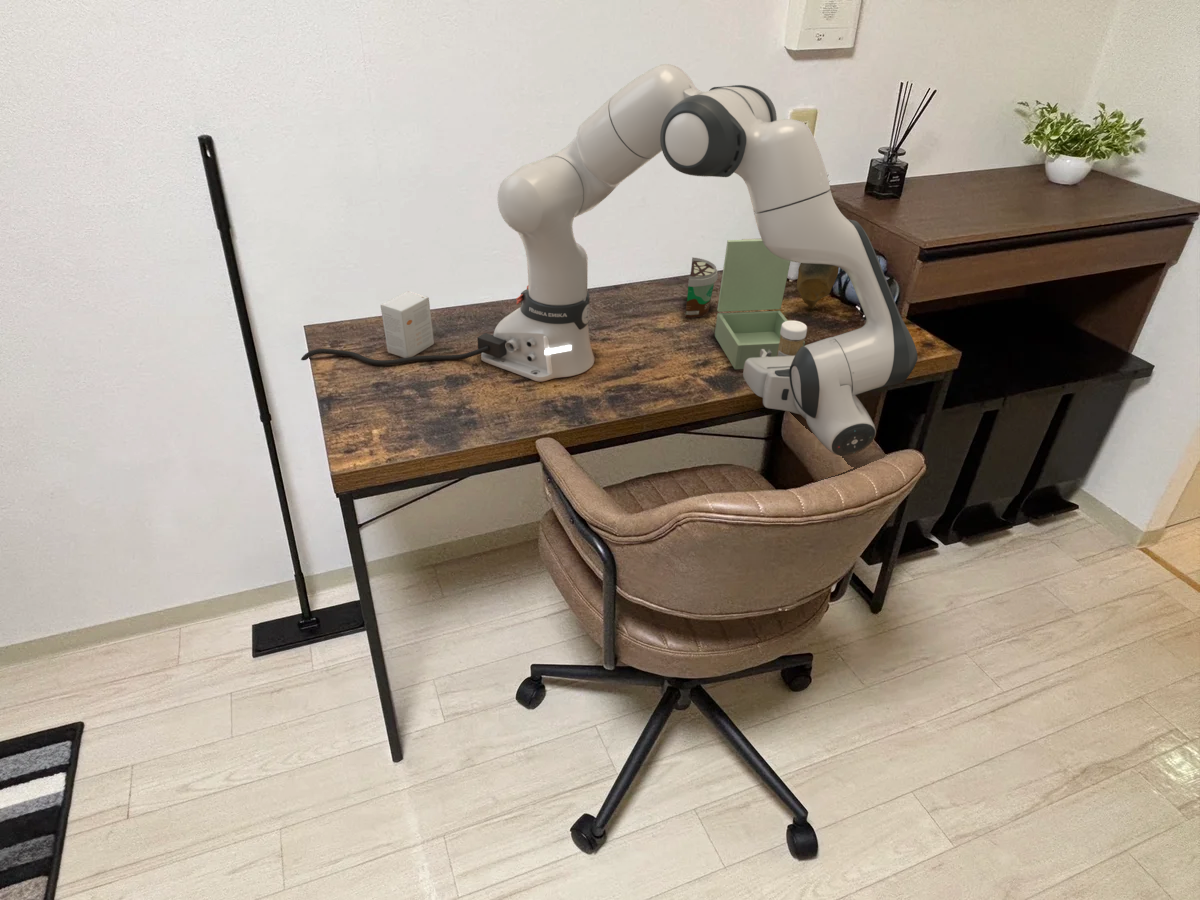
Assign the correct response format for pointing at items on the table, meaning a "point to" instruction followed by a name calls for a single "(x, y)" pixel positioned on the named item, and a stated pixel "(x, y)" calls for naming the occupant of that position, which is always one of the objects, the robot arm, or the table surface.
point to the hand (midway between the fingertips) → (787, 351)
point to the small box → (407, 324)
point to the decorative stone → (815, 281)
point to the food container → (700, 287)
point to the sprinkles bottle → (791, 338)
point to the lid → (751, 277)
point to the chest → (748, 334)
